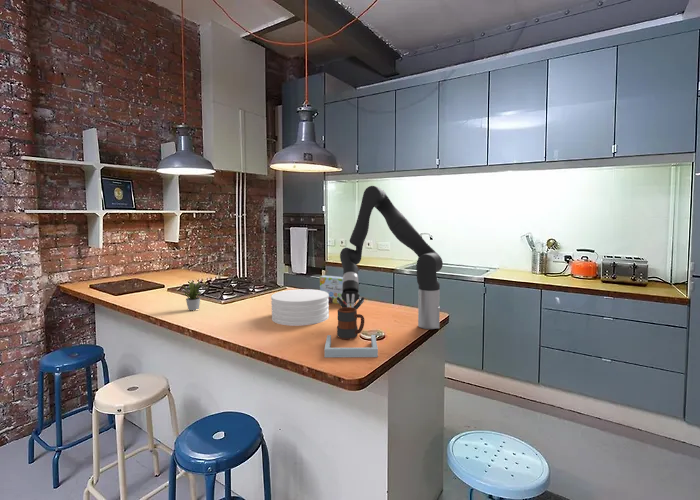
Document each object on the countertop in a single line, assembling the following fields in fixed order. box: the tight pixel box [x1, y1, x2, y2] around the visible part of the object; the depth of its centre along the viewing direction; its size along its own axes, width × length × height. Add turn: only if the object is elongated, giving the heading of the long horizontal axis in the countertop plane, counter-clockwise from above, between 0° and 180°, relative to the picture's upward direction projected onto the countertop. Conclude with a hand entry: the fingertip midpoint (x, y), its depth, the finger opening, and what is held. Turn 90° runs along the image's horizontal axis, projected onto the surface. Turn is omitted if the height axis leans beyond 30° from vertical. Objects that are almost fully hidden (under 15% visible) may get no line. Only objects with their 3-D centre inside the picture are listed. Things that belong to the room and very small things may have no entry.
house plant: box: [179, 280, 206, 311], centre depth 201 cm, size 14×14×16 cm
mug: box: [336, 306, 365, 341], centre depth 155 cm, size 9×12×12 cm
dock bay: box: [324, 334, 379, 358], centre depth 142 cm, size 19×16×3 cm
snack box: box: [319, 274, 357, 307], centre depth 215 cm, size 21×6×15 cm, turn 62°
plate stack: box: [270, 288, 330, 327], centre depth 186 cm, size 28×28×12 cm
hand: (350, 316), depth 165 cm, fingers closed
